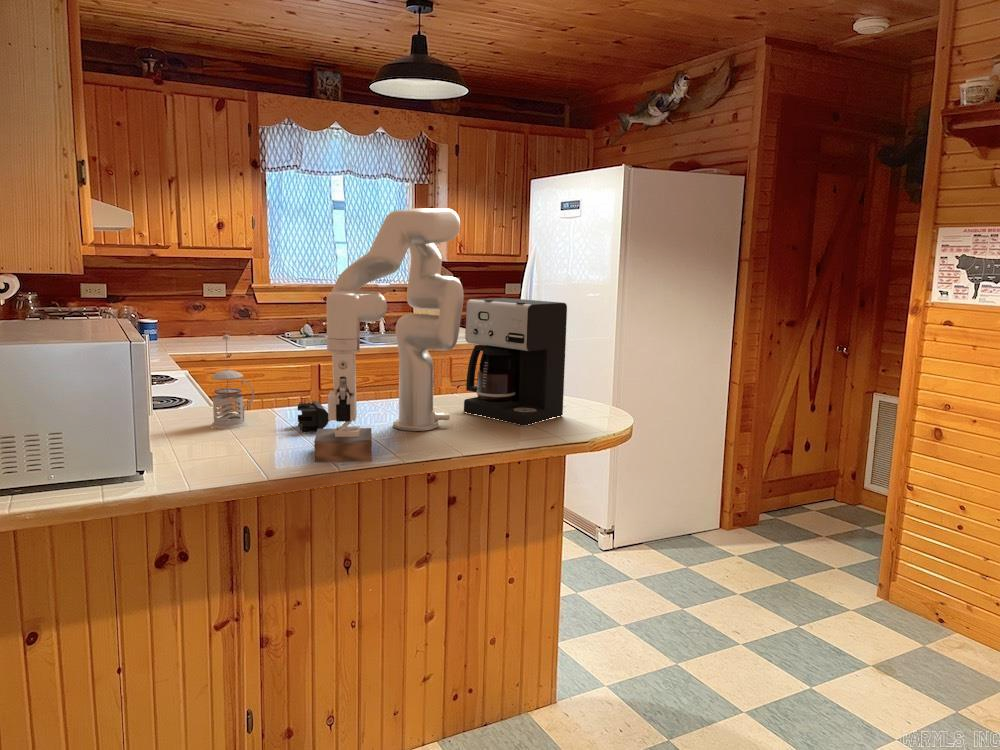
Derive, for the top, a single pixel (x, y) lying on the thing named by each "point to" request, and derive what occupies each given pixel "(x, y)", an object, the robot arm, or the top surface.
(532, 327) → the coffee maker
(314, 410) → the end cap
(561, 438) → the top surface
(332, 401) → the security camera
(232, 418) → the french press
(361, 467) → the top surface
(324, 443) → the walnut stand
